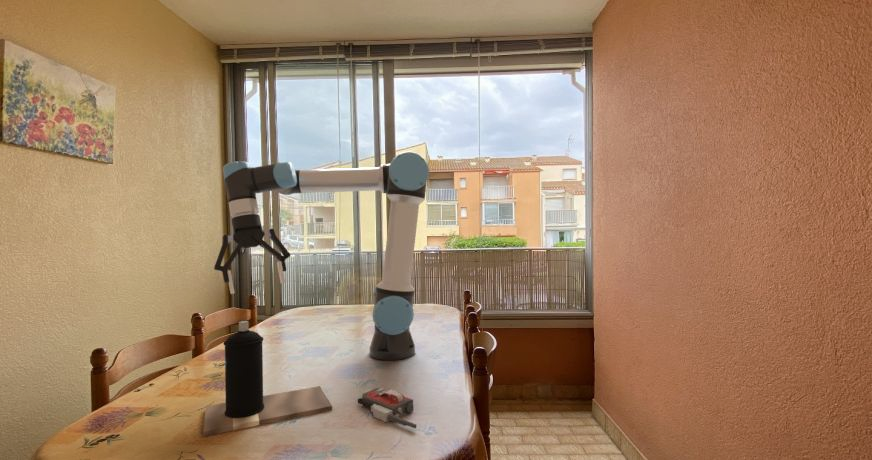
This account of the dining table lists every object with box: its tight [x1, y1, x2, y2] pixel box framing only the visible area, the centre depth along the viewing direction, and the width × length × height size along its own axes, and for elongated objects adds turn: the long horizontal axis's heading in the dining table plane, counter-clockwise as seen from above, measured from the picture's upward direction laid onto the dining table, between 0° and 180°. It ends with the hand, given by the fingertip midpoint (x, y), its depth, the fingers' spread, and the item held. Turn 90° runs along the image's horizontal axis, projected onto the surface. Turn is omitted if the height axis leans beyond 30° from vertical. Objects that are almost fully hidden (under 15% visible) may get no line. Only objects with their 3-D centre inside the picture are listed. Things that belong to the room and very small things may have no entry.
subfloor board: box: [202, 385, 333, 437], centre depth 97 cm, size 26×14×1 cm, turn 117°
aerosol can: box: [223, 320, 264, 418], centre depth 95 cm, size 8×8×20 cm
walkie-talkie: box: [357, 387, 418, 429], centre depth 95 cm, size 9×4×20 cm
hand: (258, 288), depth 120 cm, fingers open, 13 cm apart
